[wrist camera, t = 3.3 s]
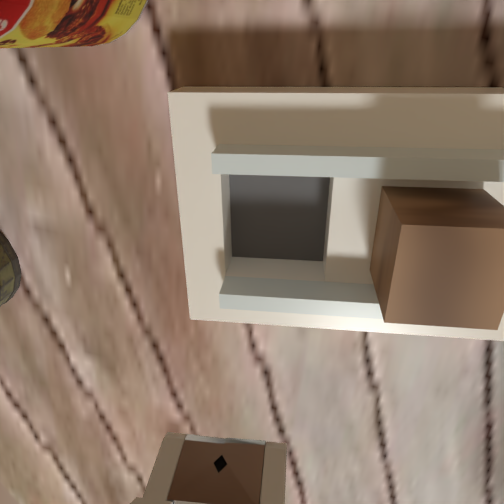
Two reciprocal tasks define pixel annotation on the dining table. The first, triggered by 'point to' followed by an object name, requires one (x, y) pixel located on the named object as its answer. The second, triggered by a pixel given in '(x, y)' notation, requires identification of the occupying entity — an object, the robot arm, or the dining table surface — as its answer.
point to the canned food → (66, 22)
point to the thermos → (8, 271)
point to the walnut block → (439, 257)
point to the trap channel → (316, 192)
